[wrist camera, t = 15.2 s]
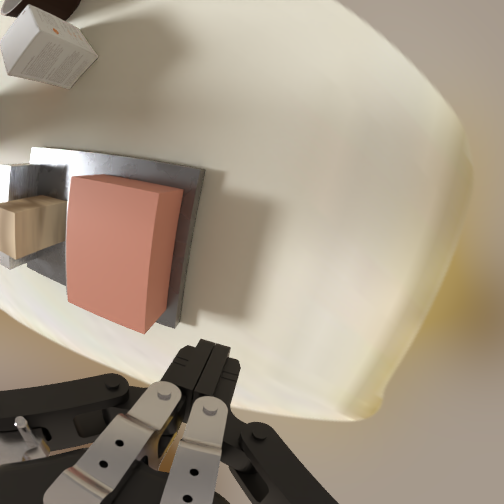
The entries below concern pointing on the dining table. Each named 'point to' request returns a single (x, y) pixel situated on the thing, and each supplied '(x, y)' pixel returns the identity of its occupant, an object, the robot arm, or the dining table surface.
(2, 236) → the maple block
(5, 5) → the coffee mug
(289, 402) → the dining table surface
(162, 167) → the vise
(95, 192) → the sliding jaw
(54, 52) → the small box
